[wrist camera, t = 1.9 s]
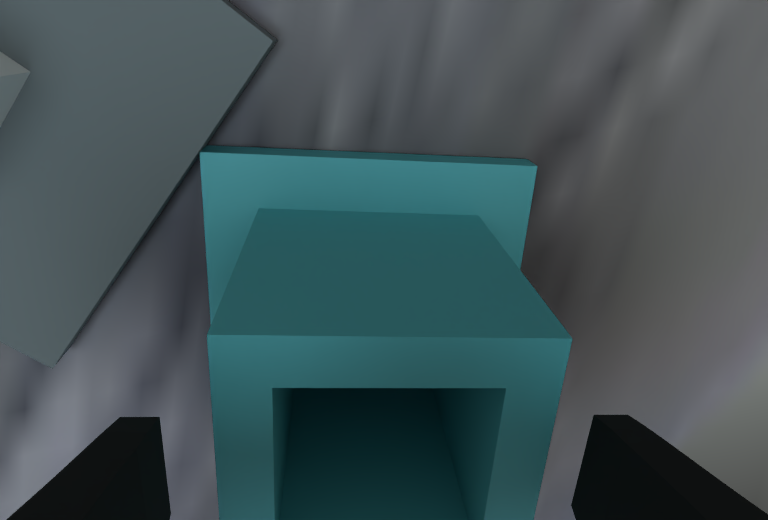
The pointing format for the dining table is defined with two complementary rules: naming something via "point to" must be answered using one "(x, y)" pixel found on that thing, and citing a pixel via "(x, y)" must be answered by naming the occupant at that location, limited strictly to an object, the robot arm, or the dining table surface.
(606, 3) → the dining table surface
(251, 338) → the flange
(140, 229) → the post block
